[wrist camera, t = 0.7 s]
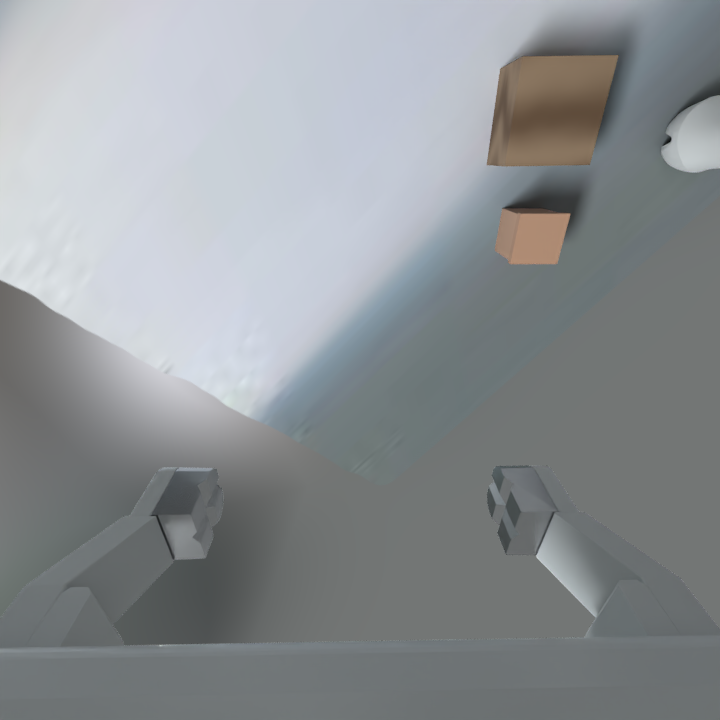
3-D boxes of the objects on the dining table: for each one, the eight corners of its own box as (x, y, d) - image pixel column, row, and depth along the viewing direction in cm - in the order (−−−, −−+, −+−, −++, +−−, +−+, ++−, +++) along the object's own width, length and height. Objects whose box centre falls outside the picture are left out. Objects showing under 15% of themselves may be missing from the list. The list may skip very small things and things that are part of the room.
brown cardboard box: (500, 206, 46) (520, 213, 40) (545, 206, 46) (570, 213, 40) (492, 251, 48) (510, 264, 43) (534, 251, 48) (557, 263, 43)
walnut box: (499, 69, 39) (522, 56, 34) (583, 68, 39) (618, 55, 34) (486, 164, 43) (504, 166, 38) (561, 163, 43) (589, 164, 38)
